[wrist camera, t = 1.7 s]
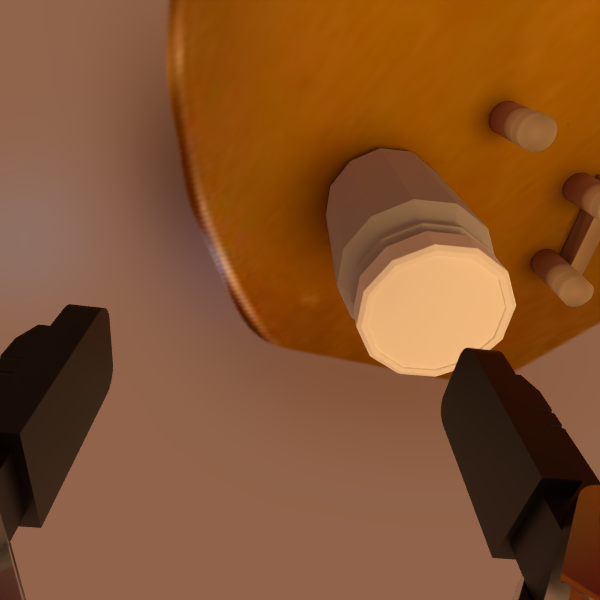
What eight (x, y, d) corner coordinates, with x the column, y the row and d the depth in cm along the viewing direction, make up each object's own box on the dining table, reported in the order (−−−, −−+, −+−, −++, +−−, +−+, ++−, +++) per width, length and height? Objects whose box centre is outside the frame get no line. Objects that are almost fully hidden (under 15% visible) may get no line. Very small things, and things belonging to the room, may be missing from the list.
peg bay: (429, 302, 45) (446, 338, 40) (495, 98, 36) (528, 112, 31) (546, 315, 46) (577, 352, 41) (640, 120, 37) (696, 137, 32)
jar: (331, 261, 43) (352, 397, 28) (317, 154, 38) (333, 247, 23) (439, 246, 42) (522, 377, 27) (439, 135, 37) (541, 217, 22)
